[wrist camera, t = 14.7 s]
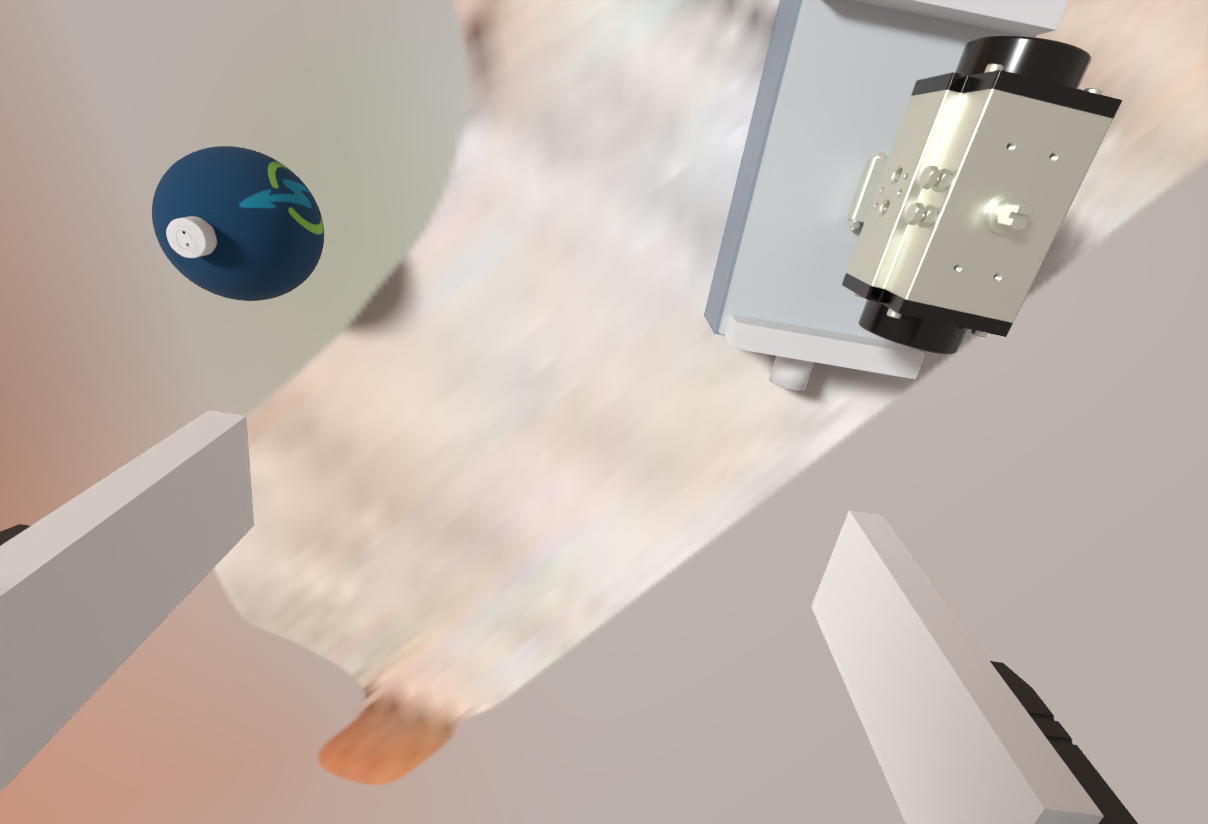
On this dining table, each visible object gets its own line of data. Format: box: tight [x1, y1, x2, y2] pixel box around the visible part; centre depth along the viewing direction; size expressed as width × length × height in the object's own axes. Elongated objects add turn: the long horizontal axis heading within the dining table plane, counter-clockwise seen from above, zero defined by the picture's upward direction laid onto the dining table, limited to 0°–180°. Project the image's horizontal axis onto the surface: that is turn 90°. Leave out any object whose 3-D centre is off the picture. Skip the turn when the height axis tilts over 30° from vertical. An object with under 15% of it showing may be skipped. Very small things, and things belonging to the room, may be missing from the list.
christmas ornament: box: [152, 146, 324, 301], centre depth 34 cm, size 8×8×10 cm
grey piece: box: [704, 0, 1068, 391], centre depth 35 cm, size 22×12×7 cm, turn 170°
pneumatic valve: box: [842, 36, 1122, 354], centre depth 27 cm, size 6×12×12 cm, turn 168°
